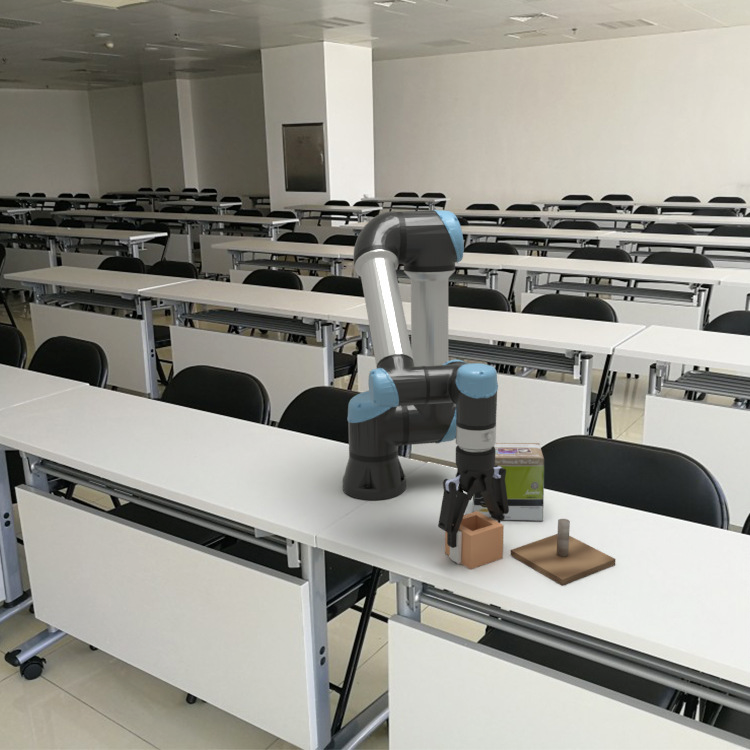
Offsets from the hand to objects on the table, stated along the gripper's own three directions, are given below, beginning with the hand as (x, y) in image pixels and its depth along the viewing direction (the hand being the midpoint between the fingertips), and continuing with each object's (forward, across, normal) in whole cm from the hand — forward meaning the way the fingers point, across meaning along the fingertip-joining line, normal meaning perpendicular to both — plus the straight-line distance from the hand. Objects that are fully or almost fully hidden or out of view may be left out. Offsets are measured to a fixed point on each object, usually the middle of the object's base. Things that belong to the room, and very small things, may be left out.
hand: (473, 554), depth 157 cm
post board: (0, +13, -11) cm, 17 cm away
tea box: (+1, +19, +12) cm, 23 cm away
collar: (0, 0, 0) cm, 0 cm away
